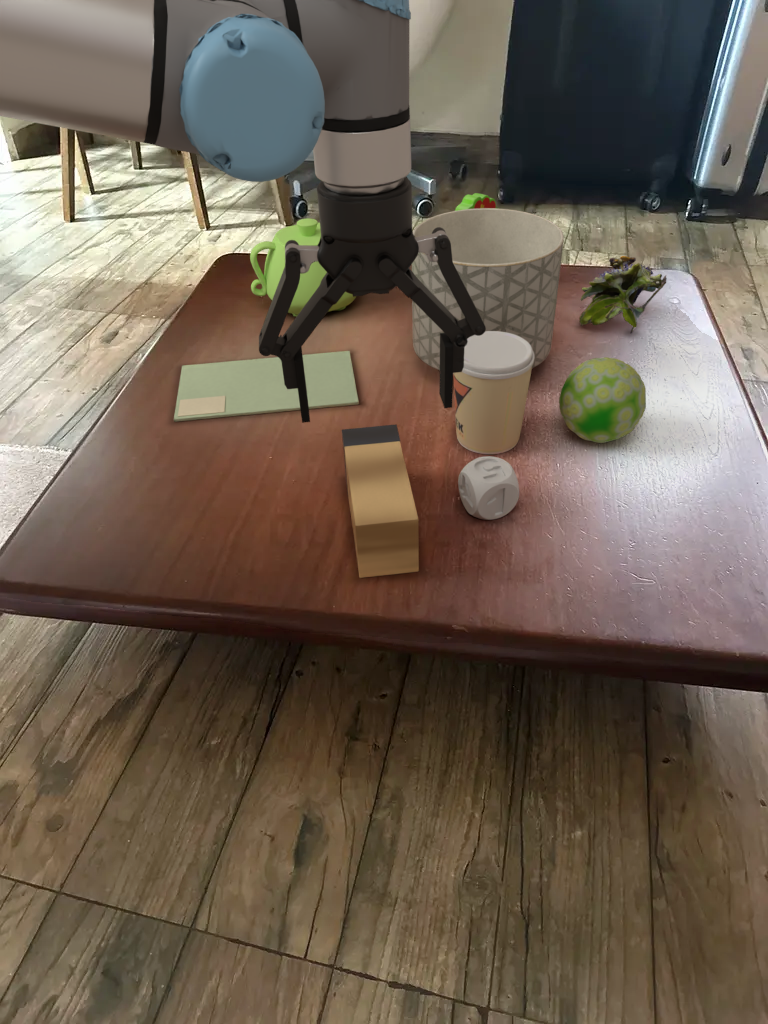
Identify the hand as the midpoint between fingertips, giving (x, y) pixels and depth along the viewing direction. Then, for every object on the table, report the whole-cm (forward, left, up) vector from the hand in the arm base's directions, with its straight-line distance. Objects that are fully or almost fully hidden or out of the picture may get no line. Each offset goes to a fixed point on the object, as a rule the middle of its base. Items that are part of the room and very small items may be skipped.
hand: (376, 407), depth 75 cm
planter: (+18, +32, -15) cm, 39 cm away
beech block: (0, 0, -15) cm, 15 cm away
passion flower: (+41, +40, -15) cm, 59 cm away
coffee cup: (+15, +14, -15) cm, 25 cm away
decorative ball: (+28, +12, -15) cm, 34 cm away
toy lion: (+20, +54, -15) cm, 59 cm away
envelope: (-12, +31, -15) cm, 36 cm away
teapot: (-3, +56, -15) cm, 58 cm away
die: (+12, +1, -15) cm, 19 cm away
